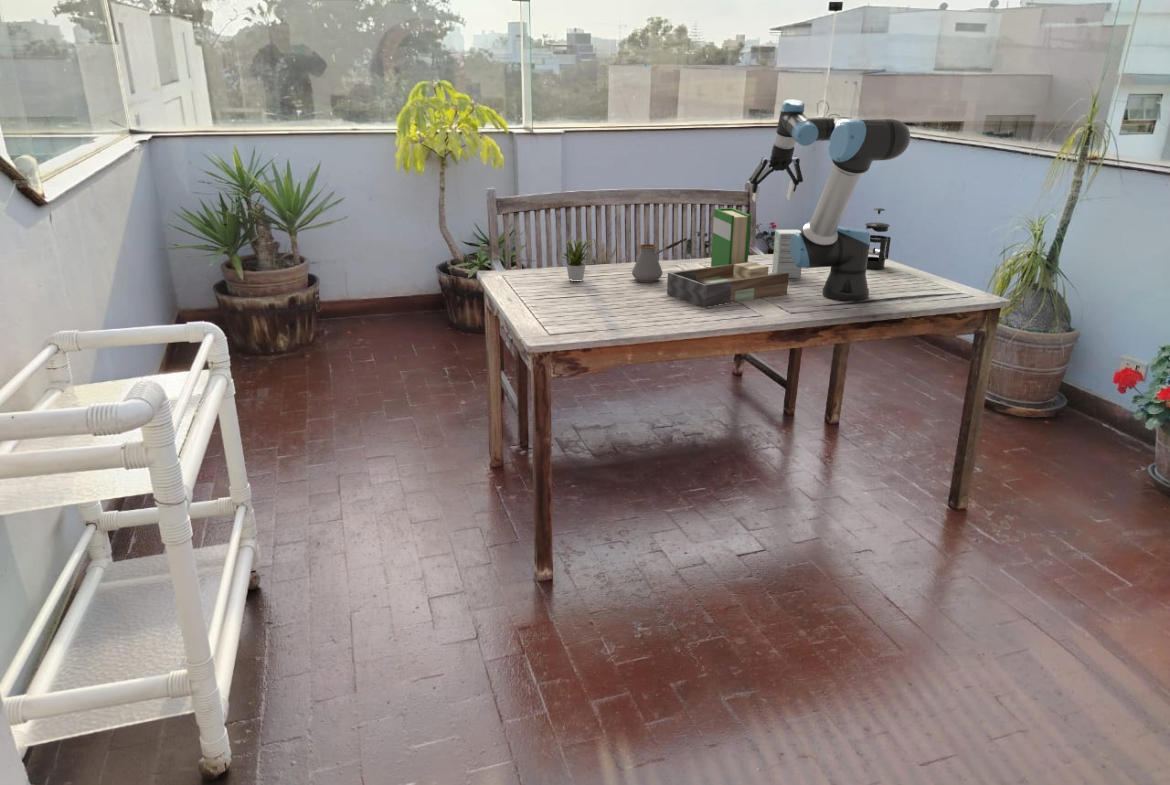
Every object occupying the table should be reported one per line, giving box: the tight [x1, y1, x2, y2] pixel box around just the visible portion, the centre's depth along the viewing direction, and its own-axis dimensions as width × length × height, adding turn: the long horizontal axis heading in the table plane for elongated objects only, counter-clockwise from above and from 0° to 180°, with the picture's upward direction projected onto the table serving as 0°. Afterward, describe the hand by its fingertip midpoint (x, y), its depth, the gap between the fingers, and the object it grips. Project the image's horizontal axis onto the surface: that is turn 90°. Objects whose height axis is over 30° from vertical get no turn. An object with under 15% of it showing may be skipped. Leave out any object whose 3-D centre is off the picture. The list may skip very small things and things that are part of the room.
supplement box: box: [771, 229, 802, 279], centre depth 301 cm, size 10×9×17 cm
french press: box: [865, 207, 892, 271], centre depth 313 cm, size 12×9×23 cm
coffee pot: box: [631, 237, 689, 283], centre depth 297 cm, size 21×12×15 cm, turn 103°
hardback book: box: [710, 207, 752, 267], centre depth 300 cm, size 18×7×24 cm, turn 12°
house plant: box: [558, 236, 595, 280], centre depth 295 cm, size 14×14×16 cm
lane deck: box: [666, 262, 790, 308], centre depth 277 cm, size 21×36×8 cm, turn 119°
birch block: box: [733, 261, 769, 279], centre depth 281 cm, size 9×8×5 cm
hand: (771, 199), depth 297 cm, fingers open, 13 cm apart
